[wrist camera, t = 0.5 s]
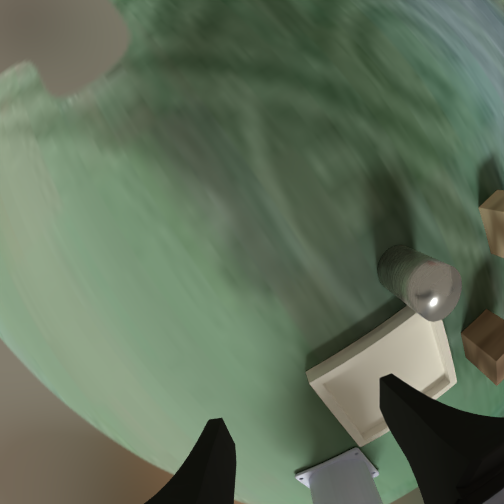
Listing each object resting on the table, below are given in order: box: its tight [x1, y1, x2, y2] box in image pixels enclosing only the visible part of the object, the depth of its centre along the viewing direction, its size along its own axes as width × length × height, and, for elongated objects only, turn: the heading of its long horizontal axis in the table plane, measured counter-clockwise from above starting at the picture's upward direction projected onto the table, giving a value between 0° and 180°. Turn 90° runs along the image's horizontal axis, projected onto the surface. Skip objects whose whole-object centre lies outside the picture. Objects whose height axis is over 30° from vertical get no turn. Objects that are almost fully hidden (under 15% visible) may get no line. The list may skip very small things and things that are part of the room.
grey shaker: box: [378, 245, 462, 322], centre depth 17 cm, size 4×4×6 cm
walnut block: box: [461, 309, 504, 386], centre depth 19 cm, size 4×4×6 cm
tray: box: [306, 305, 457, 447], centre depth 22 cm, size 12×12×2 cm
